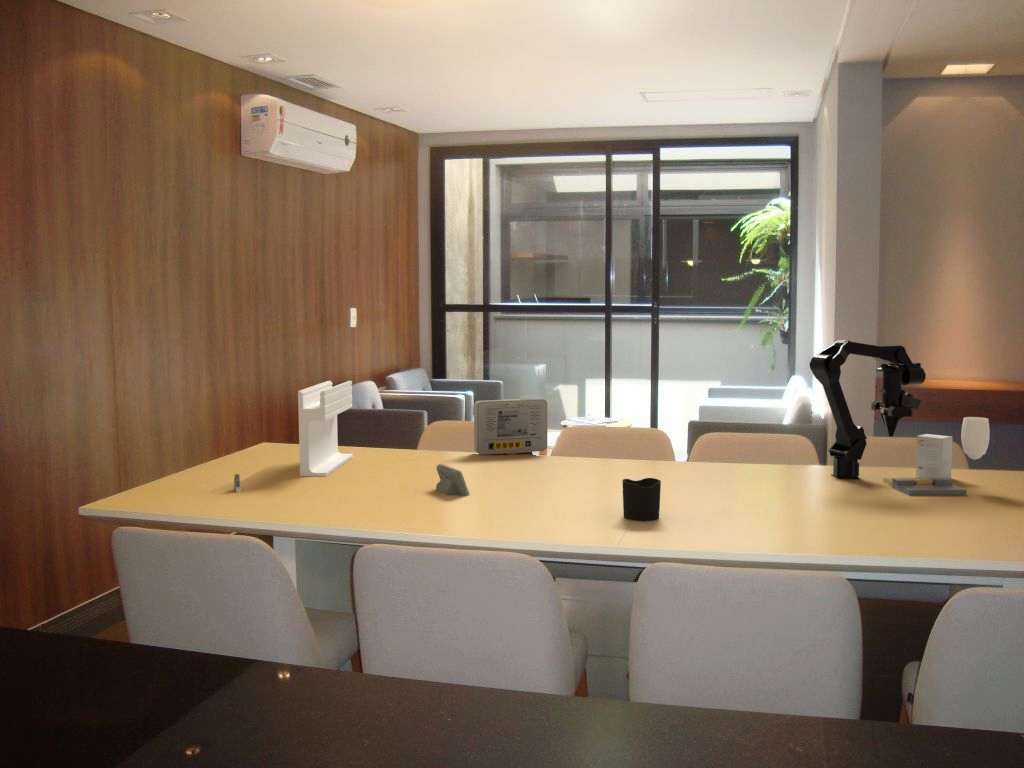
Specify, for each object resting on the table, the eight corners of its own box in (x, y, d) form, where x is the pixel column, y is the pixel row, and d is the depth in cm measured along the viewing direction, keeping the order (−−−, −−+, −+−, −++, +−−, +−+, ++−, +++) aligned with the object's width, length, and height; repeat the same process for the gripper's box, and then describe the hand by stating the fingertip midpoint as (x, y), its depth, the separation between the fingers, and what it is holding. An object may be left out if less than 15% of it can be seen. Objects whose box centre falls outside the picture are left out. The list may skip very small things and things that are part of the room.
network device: (541, 453, 338) (541, 397, 336) (550, 457, 330) (550, 399, 328) (472, 457, 330) (471, 400, 328) (479, 461, 322) (479, 402, 320)
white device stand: (329, 463, 319) (328, 380, 316) (353, 463, 318) (351, 380, 316) (300, 484, 284) (297, 391, 281) (326, 484, 283) (324, 391, 281)
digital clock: (472, 503, 257) (471, 470, 256) (444, 505, 255) (443, 471, 254) (459, 493, 270) (459, 461, 269) (433, 495, 268) (432, 463, 267)
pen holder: (651, 526, 229) (651, 485, 229) (615, 522, 234) (616, 482, 234) (666, 518, 237) (666, 479, 237) (632, 514, 242) (632, 475, 241)
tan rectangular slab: (899, 491, 269) (899, 480, 269) (883, 484, 280) (883, 473, 280) (948, 490, 269) (948, 479, 269) (930, 483, 280) (930, 473, 280)
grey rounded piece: (958, 492, 268) (961, 419, 266) (959, 487, 274) (962, 416, 272) (987, 494, 264) (990, 420, 262) (987, 489, 271) (990, 417, 269)
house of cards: (210, 500, 264) (209, 472, 263) (242, 497, 267) (241, 470, 267) (214, 506, 256) (213, 478, 255) (247, 503, 259) (247, 475, 258)
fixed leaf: (908, 497, 261) (909, 486, 260) (891, 489, 272) (892, 478, 271) (966, 497, 261) (966, 485, 261) (947, 488, 272) (947, 477, 272)
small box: (951, 479, 287) (953, 436, 286) (941, 481, 283) (942, 438, 282) (925, 475, 293) (927, 433, 292) (915, 477, 289) (916, 435, 288)
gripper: (931, 388, 281) (929, 440, 282) (907, 382, 300) (905, 431, 301) (893, 389, 281) (891, 441, 283) (871, 383, 300) (870, 432, 301)
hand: (890, 436), depth 292 cm, fingers closed
